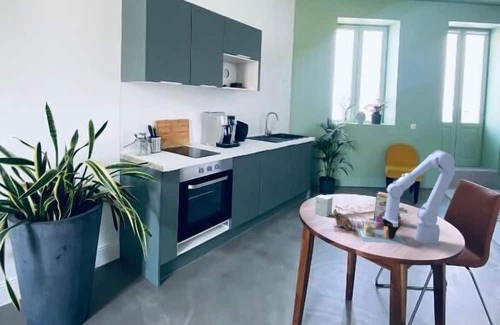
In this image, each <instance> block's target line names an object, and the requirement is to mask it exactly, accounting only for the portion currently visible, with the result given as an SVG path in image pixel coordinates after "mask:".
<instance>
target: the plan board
mask: <svg viewBox="0 0 500 325" xmlns="http://www.w3.org/2000/svg"><path fill="white" fill-rule="evenodd" d="M355 230H356V231H357V233H358V235H359V237H360V238H361V239H360V240H361V241H362V242H366V243H384V244H385V243H387V244H402V245H407V243H406V241H405V240H404V239H403V238H402V236H401V235H400V234H399V233H398V231H397V232H396V237H395V239H385V237H384V236H383V230H384V229H376V231H375V236H365V234H364V232H363V231H364V228H360V227H359V228H358V227H355Z"/></svg>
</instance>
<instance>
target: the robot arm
mask: <svg viewBox="0 0 500 325" xmlns="http://www.w3.org/2000/svg"><path fill="white" fill-rule="evenodd" d="M455 160H456V159H455V158H454V157H453V155H452V154H451V153H448V152H445V151H444V150H442V149H437V150H434V151H432V153H431V154H429V155H428V156H427V157H426V158H425V159H424V160H423V161H422V162H421V163H420V164H418V166H416V167H415V168H414V169H413V170H412V171H411V172H406V173H402V174H401V177H399V178H398V179H397V180H394V181H393V182H392V183H389V185H388V186H387V187H386V193H388V197H387V204H386V212H385V216H383V217H382V220H383V223H382V224H383V227H384V226H387V227H388V235H389V238H392V239H394V236H395V234H396V232H397V233H398V231H399V229H400V227H401V225H399V210H400V202H401V201H400V200H401V197H402V196H403V194H404V191H406V190H407V189H409V188H410V187H412V185H414V183H416V179H417V178H418V177H420V176H421V175H422V174H423V173H425V172H426V171H428V170H429V169H433V168H438V169H439V171H440V174H439V176H438V178H437V180H436V181H435V182H436V183H435V184H434V186H433V188H432V190H431V192H430V194H429V197H428V199H427V201H426V202H425V203H423V205H422V206H421V208H419V209H418V210H417V213H416V216H417V218H418V221H417V224H416V226H417V227H416V233H415V240H416V241H418V242H419V243H422V244H423V243H424V244H435V245H436V246H440V245H439V240H440V233H441V230H440V226H439V225H438V224H437V223H438V216H439V214H440V213H439V207H440V205H441V203H442V202H443V199H444V197H445V194H446V192H447V191H448V189H449V187H450V185H451V182H452V180H453V178H454V176H455V174H456V168H455V163H456V162H455Z"/></svg>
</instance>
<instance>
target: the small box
mask: <svg viewBox="0 0 500 325" xmlns="http://www.w3.org/2000/svg"><path fill="white" fill-rule="evenodd" d="M314 203H315V204H314V214H315V215H318V216H322V217H325V218H327V217H330V216H333V212H332V210H333V197H332V196H328V195H324V194H319V195H316V196H315V202H314ZM329 215H330V216H329Z"/></svg>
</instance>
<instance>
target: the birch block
mask: <svg viewBox="0 0 500 325" xmlns="http://www.w3.org/2000/svg"><path fill="white" fill-rule="evenodd" d="M363 229H364V231H363V232H364V234H365V236H375V231H376V230H377V227H376V225H375V224H374V223H363Z"/></svg>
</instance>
